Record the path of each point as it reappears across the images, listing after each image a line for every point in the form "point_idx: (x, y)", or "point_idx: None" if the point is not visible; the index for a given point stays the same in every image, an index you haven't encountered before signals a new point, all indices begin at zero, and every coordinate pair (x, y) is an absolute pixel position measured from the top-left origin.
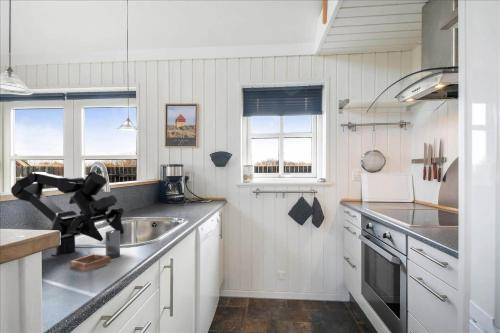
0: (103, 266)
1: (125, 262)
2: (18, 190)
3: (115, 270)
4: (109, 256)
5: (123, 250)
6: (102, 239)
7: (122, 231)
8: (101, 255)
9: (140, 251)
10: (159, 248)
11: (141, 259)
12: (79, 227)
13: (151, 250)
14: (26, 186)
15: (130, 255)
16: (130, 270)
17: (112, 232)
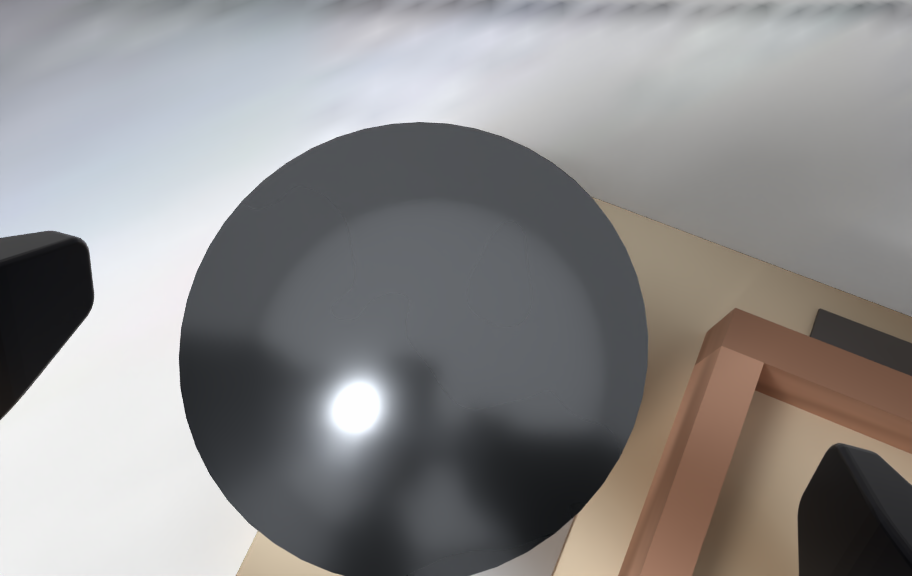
0: (883, 338)
1: None
2: None
3: (867, 174)
4: (731, 326)
5: (22, 494)
6: (852, 451)
7: (60, 250)
8: (695, 505)
9: (121, 198)
10: (26, 4)
11: (464, 45)
12: None
13: (99, 70)
14: None
15: None
16: (839, 6)
17: (538, 275)
